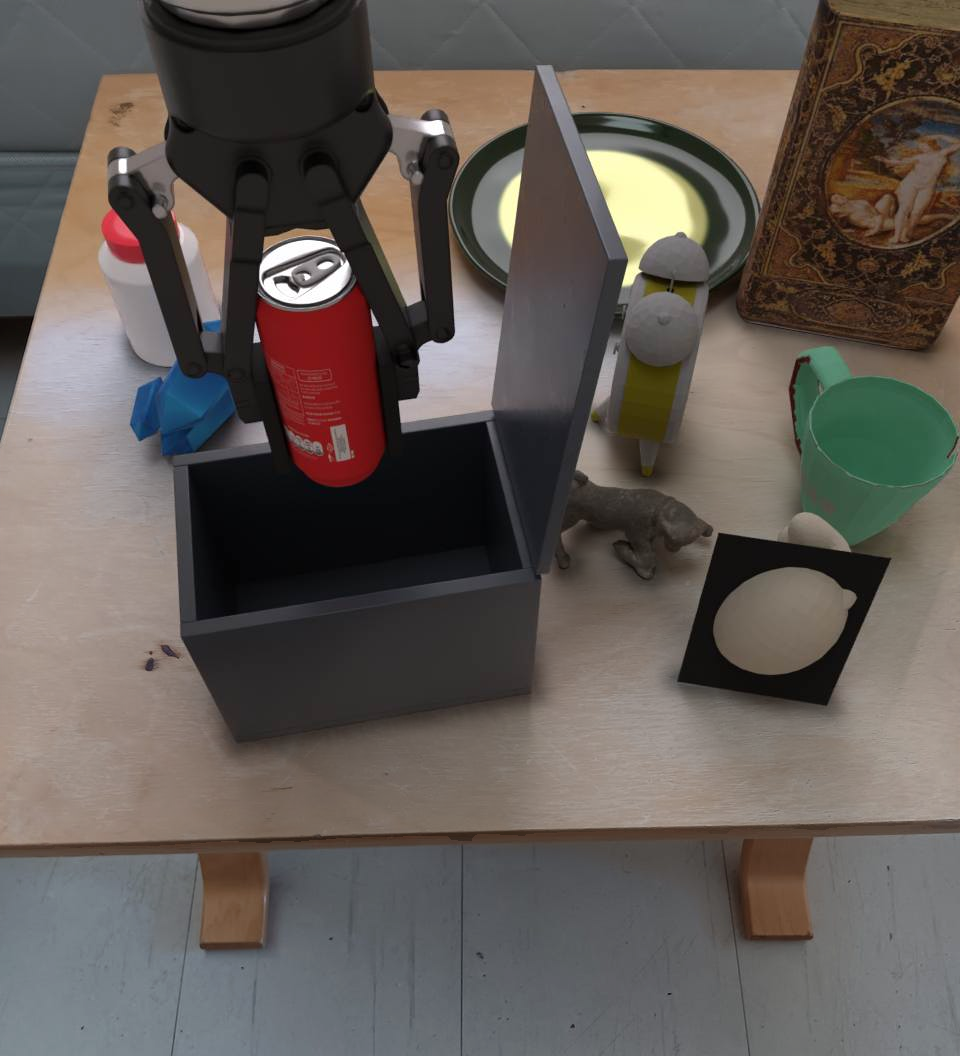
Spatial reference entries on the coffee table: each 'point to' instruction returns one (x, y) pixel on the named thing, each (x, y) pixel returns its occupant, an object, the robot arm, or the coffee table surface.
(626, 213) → the plate
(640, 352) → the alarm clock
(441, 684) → the dark grey storage box
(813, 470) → the mug
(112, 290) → the pill bottle
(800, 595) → the decorative object
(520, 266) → the dark grey box lid
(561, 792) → the coffee table surface
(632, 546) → the dog figurine
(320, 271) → the beverage can
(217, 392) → the crystal
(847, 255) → the book
